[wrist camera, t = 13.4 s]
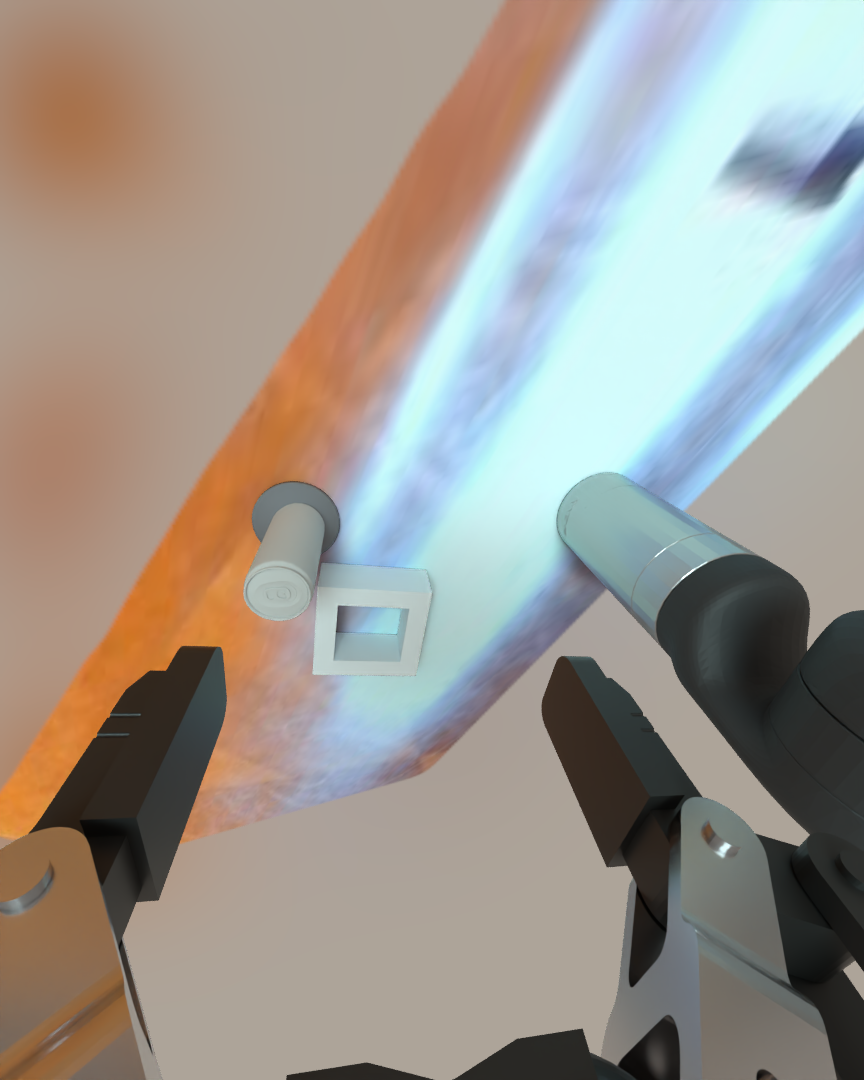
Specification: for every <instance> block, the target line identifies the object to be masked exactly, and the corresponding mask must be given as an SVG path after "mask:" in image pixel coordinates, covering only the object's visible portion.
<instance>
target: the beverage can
mask: <svg viewBox="0 0 864 1080" xmlns="http://www.w3.org/2000/svg"><path fill="white" fill-rule="evenodd" d="M324 531H325V524H324V521H323V518H322V517H321V515H320V513H319V512H318V511H316V510H315V509H314V508H312V507H311V506H309V505H306V504H303V503H293V504H289V505H286V506H284V507H283V508H281V509H280V510H278V511H277V512H276V514H275V515H274V516H273V519H272V521H271V523H270V525H269V527H268V530H267V532H266V534H265V536H264V538H263V541H262V543H261V545H260V547H259V549H258V552H257V554H256V556H255V558H254V560H253V563H252V565H251V567H250V569H249V572H248V574H247V576H246V579H245V583H244V599H245V601H246V604H247V605H248V607H249V608H250V609H251V610H252V611H253V612H254V613H256V614H257V615H258V616H261V617H263V618H265V619H269V620H274V621H284V620H289V619H293V618H295V617H297V616H299V615H300V614H302V613H303V612H304V611H305V610H306V608H307V607H308V606H309V603H310V602H311V600H312V597H313V594H314V589H315V583H316V577H317V572H318V566H319V560H320V554H321V548H322V543H323V537H324Z"/></svg>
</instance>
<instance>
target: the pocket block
mask: <svg viewBox="0 0 864 1080" xmlns="http://www.w3.org/2000/svg"><path fill="white" fill-rule="evenodd" d="M431 597H432V590H431V586H430V582H429V578H428V575H427V571H426V570H425V569H411V568H396V567H381V566H366V565H351V564H337V563H321V569H320V575H319V580H318V586H317V604H316V623H315V641H314V659H313V675H372V676H416V673H417V668H418V663H419V658H420V653H421V648H422V643H423V638H424V633H425V628H426V623H427V617H428V612H429V607H430V602H431ZM338 605H342V606H363V607H384V608H401V614H400V620H399V626H398V633H397V634H370V633H341V632H336V624H337V612H338Z"/></svg>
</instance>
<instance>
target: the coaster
mask: <svg viewBox="0 0 864 1080" xmlns="http://www.w3.org/2000/svg"><path fill="white" fill-rule="evenodd" d="M293 503H303V504H306V505H309V506H311V507H312V508H314V509H315V510H316V511H318V512H319V513H320V515H321V517H322V518H323V521H324V524H325V531H324V537H323V543H322V548H321V554H322V553H323V552H325V551H326V550H327V549H329V548H330V546H331V545H332V544H333V543H334V541H335V539H336V537H337V535H338V531H339V514H338V510H337V508H336V506H335V504H334V502H333V501H332V500H331V498H330V497H329V496H328V495H327V494H326V493H325V492H323V491H322V490H321V489H319V488H317V487H315V486H313V485H311V484H307V483H304V482H296V481H290V482H283V483H279V484H276V485H274V486H272V487H270V488H269V489H267V490H266V491H265V492H264V493H263V494H262V495H261V496H260V497H259V499H258V501H257V502H256V504H255V506H254V509H253V513H252V524H253V528H254V531H255V534H256V536H257V537H258V539H259V540H260V542H261V543H262V541H263V538H264V536H265V534H266V532H267V530H268V527H269V525H270V523H271V521H272V519H273V516H274V515H275V514H276V512H277V511H278V510H280V509H281V508H283V507H284V506H286V505H289V504H293Z"/></svg>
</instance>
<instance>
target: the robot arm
mask: <svg viewBox="0 0 864 1080" xmlns="http://www.w3.org/2000/svg"><path fill="white" fill-rule="evenodd" d="M557 527H558V531H559V534H560V536H561V538H562V539H563V541H564V542H565V543H566V544H567V545H568V546H569V547H570V548H571V549H572V550H573V552H574V553H575V554H576V555H577V556H578V557H579V558H580V560H581V561H582V562H583V563H584V564H585V565H586V566H587V567H588V568H589V569H590V570H591V571H592V573H593V574H594V575H595V576H596V577H597V578H598V579H599V580H600V581H601V582H602V583H603V585H604V586H605V587H606V588H607V589H608V590H609V591H610V592H611V593H612V594H613V595H614V596H615V598H616V599H617V600H618V601H619V602H620V603H621V604H622V605H623V606H624V607H625V608H626V610H627V611H628V612H629V613H630V614H631V615H632V616H633V617H634V618H635V619H636V620H637V621H638V623H640V624H641V625H642V627H643V628H644V629H645V630H646V631H647V632H648V633H649V634H650V635H651V636H652V637H653V639H654V640H655V641H656V642H657V643H658V644H659V645H660V646H661V647H662V648H663V649H664V650H665V652H666V653H667V654H668V655H669V656H670V657H671V659H672V663H673V666H674V669H675V672H676V674H677V676H678V678H679V680H680V682H681V683H682V685H683V686H684V688H685V689H686V690H687V692H688V693H689V694H690V695H691V697H692V698H693V699H694V700H695V702H696V703H697V704H698V705H699V707H700V708H701V709H702V710H703V712H704V713H705V714H706V715H707V717H708V718H709V719H710V720H711V722H712V723H713V724H714V725H715V727H716V728H717V729H718V730H719V732H720V733H721V734H722V736H723V737H724V738H725V739H726V741H727V742H728V743H729V744H730V746H731V747H732V748H733V749H734V751H735V752H736V753H737V755H738V756H739V757H740V758H741V760H742V761H743V762H744V763H745V765H746V766H747V767H748V768H749V770H750V771H751V772H752V773H753V775H754V776H755V777H756V778H757V779H758V781H760V783H761V784H762V785H763V787H764V788H765V789H766V790H767V791H768V792H769V793H770V794H771V796H772V797H773V798H774V799H775V800H776V801H777V802H778V803H779V804H780V805H781V806H782V808H783V809H784V810H785V811H786V812H787V813H788V814H789V815H790V816H791V817H792V818H793V819H794V820H795V821H796V822H797V823H798V824H800V826H801V827H803V828H804V829H805V830H806V831H807V832H808V833H809V834H810V836H809V837H808V838H807V839H806V840H805V841H804V842H803V843H802V844H801V845H800V846H795V845H792V844H788V843H785V842H781V841H778V840H775V839H772V838H768V837H765V836H761V835H758V834H755V833H754V831H753V830H752V829H751V828H750V827H749V826H748V825H747V824H746V822H745V821H744V820H742V819H741V818H740V817H739V816H738V815H737V814H735V813H734V812H733V811H732V810H730V809H729V808H727V807H725V806H724V805H722V804H720V803H718V802H716V801H714V800H711V799H708V798H703V797H702V796H701V794H700V793H699V792H698V790H697V789H696V787H695V786H694V785H693V783H692V782H691V780H690V779H689V778H688V776H687V775H686V773H685V772H684V770H683V769H682V767H681V766H680V765H679V763H678V762H677V760H676V759H675V758H674V756H673V755H672V753H671V752H670V750H669V749H668V748H667V746H666V745H665V743H664V742H663V740H662V739H661V738H660V736H659V735H658V733H656V732H654V728H653V726H652V725H651V723H650V722H649V721H648V719H647V718H646V717H644V716H643V712H642V711H641V709H640V708H639V706H638V705H637V704H636V702H635V701H634V699H633V698H632V697H631V695H630V694H629V693H628V692H627V691H626V690H624V689H623V688H622V687H621V686H620V685H619V684H618V683H616V682H615V681H614V680H613V679H612V678H606V676H605V675H604V673H603V672H602V670H601V669H600V667H599V666H598V665H597V663H596V662H595V660H593V659H592V658H591V657H576V656H575V657H574V656H573V657H572V656H561V657H560V658H558V660H557V662H556V664H555V667H554V669H553V672H552V675H551V678H550V680H549V683H548V686H547V688H546V691H545V694H544V697H543V700H542V717H543V721H544V724H545V727H546V729H547V731H548V733H549V736H550V738H551V741H552V743H553V745H554V747H555V750H556V752H557V754H558V757H559V759H560V761H561V763H562V766H563V768H564V770H565V772H566V775H567V777H568V779H569V782H570V784H571V786H572V788H573V791H574V793H575V795H576V798H577V800H578V802H579V805H580V807H581V809H582V811H583V814H584V816H585V818H586V821H587V823H588V825H589V827H590V830H591V832H592V834H593V837H594V839H595V841H596V843H597V846H598V848H599V850H600V852H601V855H602V857H603V859H604V861H605V864H606V866H607V867H616V866H628V868H629V870H630V872H631V874H632V876H633V879H632V881H631V883H630V885H629V891H628V902H627V910H626V920H625V929H624V939H623V948H622V958H621V967H620V978H619V986H618V992H617V997H616V1001H615V1004H614V1007H613V1010H612V1012H611V1014H610V1017H609V1020H608V1024H607V1027H606V1032H605V1036H604V1041H603V1047H602V1054H601V1057H599V1056H597V1055H595V1054H592V1053H590V1052H589V1049H588V1045H587V1042H586V1039H585V1035H584V1032H583V1029H577V1030H571V1031H565V1032H558V1033H552V1034H546V1035H539V1036H533V1037H526V1038H520V1039H516V1040H515V1041H513V1042H511V1043H510V1044H508V1045H507V1046H505V1047H504V1048H502V1049H501V1050H499V1051H498V1052H496V1053H494V1054H493V1055H491V1056H490V1057H488V1058H487V1059H485V1060H484V1061H482V1062H480V1063H479V1064H477V1065H476V1066H474V1067H473V1068H471V1069H470V1070H468V1071H466V1072H465V1073H463V1074H462V1075H460V1076H459V1077H457V1078H455V1079H453V1080H864V1000H863V999H862V997H861V996H860V994H859V993H858V991H857V990H856V989H855V987H854V986H853V984H852V983H851V981H850V980H849V978H848V977H847V975H846V974H845V973H844V971H843V969H844V968H845V967H847V966H848V965H850V964H851V963H852V962H854V961H855V960H856V962H857V963H858V965H859V966H860V967H861V969H862V970H863V971H864V610H860V611H852V612H849V613H846V614H843V615H841V616H840V617H838V618H837V619H835V620H834V621H833V622H832V623H831V624H830V625H829V626H828V627H826V629H825V630H824V631H823V632H822V633H821V634H820V636H819V637H818V638H817V639H816V641H815V642H814V643H813V645H812V646H811V647H810V648H809V650H808V651H807V636H808V627H809V618H810V616H809V615H810V608H809V600H808V597H807V594H806V592H805V590H804V588H803V586H802V585H801V584H800V583H799V582H798V580H797V579H795V578H794V577H793V576H792V575H791V574H789V573H788V572H786V571H784V570H783V569H781V568H780V567H778V566H776V565H774V564H773V563H771V562H770V561H768V560H766V559H764V558H762V557H760V556H759V555H757V554H755V553H754V552H752V551H750V550H748V549H747V548H745V547H743V546H742V545H740V544H738V543H737V542H735V541H733V540H731V539H730V538H728V537H726V536H724V535H723V534H721V533H719V532H718V531H716V530H714V529H712V528H711V527H709V526H707V525H706V524H704V523H702V522H701V521H699V520H697V519H696V518H694V517H692V516H690V515H688V514H687V513H685V512H684V511H682V510H680V509H679V508H677V507H675V506H674V505H672V504H670V503H668V502H667V501H665V500H663V499H662V498H660V497H658V496H657V495H655V494H653V493H652V492H650V491H648V490H647V489H645V488H643V487H642V486H640V485H638V484H637V483H635V482H633V481H632V480H630V479H628V478H626V477H625V476H622V475H620V474H616V473H600V474H596V475H593V476H590V477H588V478H586V479H584V480H582V481H581V482H580V483H578V484H577V485H576V486H574V488H573V489H572V490H571V491H570V492H569V493H568V494H567V496H566V497H565V499H564V500H563V502H562V504H561V506H560V509H559V512H558V517H557ZM226 702H227V695H226V684H225V673H224V662H223V652H222V649H221V647H207V646H182V647H181V648H180V649H179V650H178V651H177V653H176V655H175V656H174V658H173V660H172V662H171V663H170V665H169V667H168V668H167V670H166V671H149V672H148V673H146V674H145V675H144V676H143V677H141V678H140V679H139V680H138V681H136V682H135V683H134V684H133V685H131V686H130V687H129V688H128V689H126V690H125V692H124V693H123V695H122V696H121V698H120V699H119V701H118V702H117V704H116V705H115V707H114V709H113V710H112V712H111V713H110V717H109V718H107V719H106V721H105V722H104V724H103V725H102V727H101V728H100V730H99V731H98V733H97V737H96V738H94V739H93V740H92V742H91V743H90V745H89V746H88V748H87V749H86V751H85V752H84V754H83V755H82V757H81V758H80V760H79V761H78V763H77V764H76V766H75V767H74V769H73V770H72V772H71V773H70V775H69V776H68V778H67V779H66V781H65V782H64V784H63V785H62V787H61V788H60V790H59V791H58V793H57V795H56V796H55V798H54V799H53V801H52V802H51V804H50V805H49V807H48V808H47V810H46V811H45V813H44V814H43V816H42V817H41V819H40V820H39V821H38V823H37V824H36V825H35V827H34V828H33V829H32V830H31V831H30V832H29V834H28V835H25V836H23V837H21V838H19V839H17V840H15V841H13V842H12V843H10V844H8V845H6V846H5V847H4V848H2V849H0V1080H163V1079H162V1076H161V1073H160V1069H159V1066H158V1063H157V1060H156V1056H155V1052H154V1049H153V1045H152V1042H151V1038H150V1034H149V1030H148V1027H147V1023H146V1020H145V1016H144V1012H143V1009H142V1005H141V1001H140V998H139V994H138V990H137V987H136V983H135V979H134V976H133V972H132V968H131V965H130V961H129V957H128V954H127V950H126V946H125V943H124V939H123V934H124V932H125V929H126V927H127V924H128V922H129V919H130V917H131V914H132V912H133V909H134V906H135V904H136V902H143V901H156V900H159V898H160V895H161V892H162V889H163V887H164V884H165V881H166V878H167V875H168V873H169V870H170V867H171V865H172V862H173V859H174V856H175V853H176V851H177V848H178V845H179V843H180V840H181V837H182V834H183V832H184V829H185V826H186V823H187V821H188V818H189V815H190V813H191V810H192V807H193V804H194V802H195V799H196V796H197V793H198V791H199V788H200V785H201V782H202V780H203V777H204V774H205V771H206V769H207V766H208V763H209V760H210V758H211V755H212V752H213V749H214V747H215V744H216V741H217V738H218V736H219V733H220V730H221V727H222V724H223V721H224V717H225V711H226ZM286 1080H433V1079H429V1078H425V1077H421V1076H417V1075H414V1074H410V1073H406V1072H402V1071H398V1070H394V1069H390V1068H386V1067H382V1066H378V1065H375V1064H371V1063H361V1064H355V1065H348V1066H342V1067H336V1068H330V1069H323V1070H317V1071H311V1072H304V1073H298V1074H291V1075H287V1078H286Z"/></svg>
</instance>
